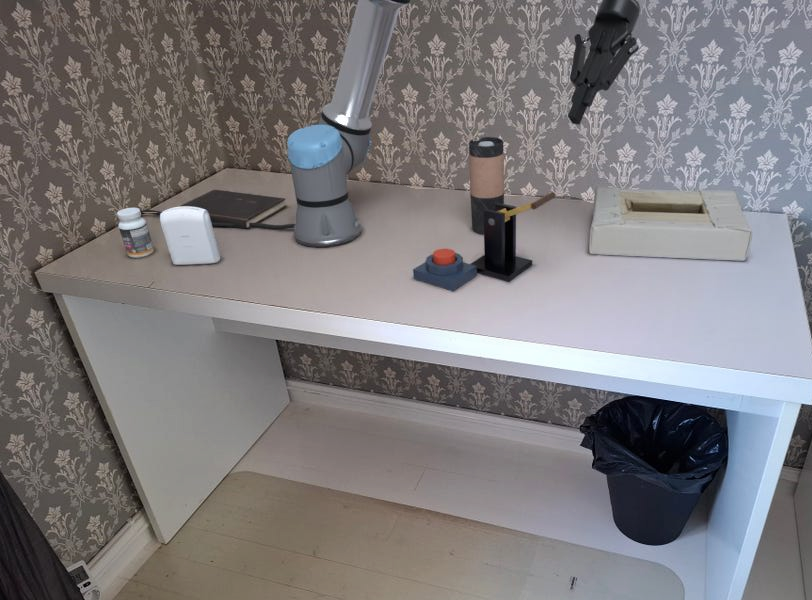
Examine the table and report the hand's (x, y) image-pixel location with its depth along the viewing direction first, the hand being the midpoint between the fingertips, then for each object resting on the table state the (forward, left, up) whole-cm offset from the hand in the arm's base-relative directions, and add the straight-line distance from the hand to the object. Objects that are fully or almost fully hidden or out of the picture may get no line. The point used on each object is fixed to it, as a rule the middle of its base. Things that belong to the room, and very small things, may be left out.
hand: (573, 120), depth 127 cm
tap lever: (-4, -11, -16) cm, 20 cm away
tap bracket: (-9, -11, -28) cm, 32 cm away
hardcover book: (-85, -20, -28) cm, 92 cm away
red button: (-16, -20, -25) cm, 36 cm away
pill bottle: (-82, -47, -28) cm, 99 cm away
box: (+13, +21, -28) cm, 38 cm away
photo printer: (-67, -43, -28) cm, 85 cm away
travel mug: (-23, +5, -28) cm, 37 cm away
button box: (-16, -20, -28) cm, 39 cm away
